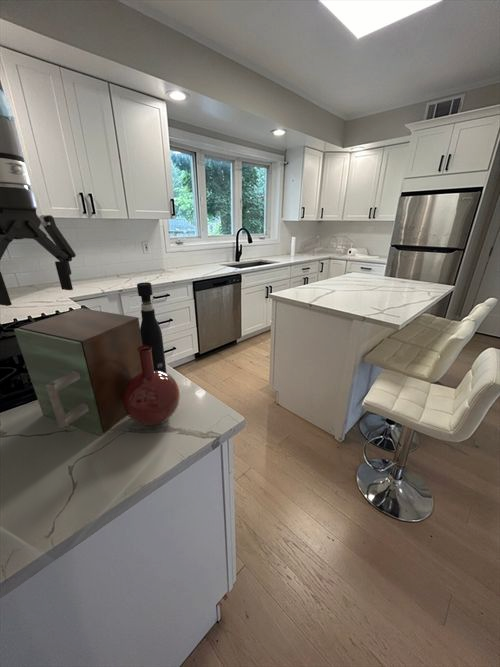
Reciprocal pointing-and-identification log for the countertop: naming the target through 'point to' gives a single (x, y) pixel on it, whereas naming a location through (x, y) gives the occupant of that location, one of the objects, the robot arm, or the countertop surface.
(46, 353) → the cupboard door
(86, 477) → the countertop surface
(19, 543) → the countertop surface
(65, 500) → the countertop surface
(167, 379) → the round-bottom flask
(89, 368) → the cupboard
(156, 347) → the wine bottle
